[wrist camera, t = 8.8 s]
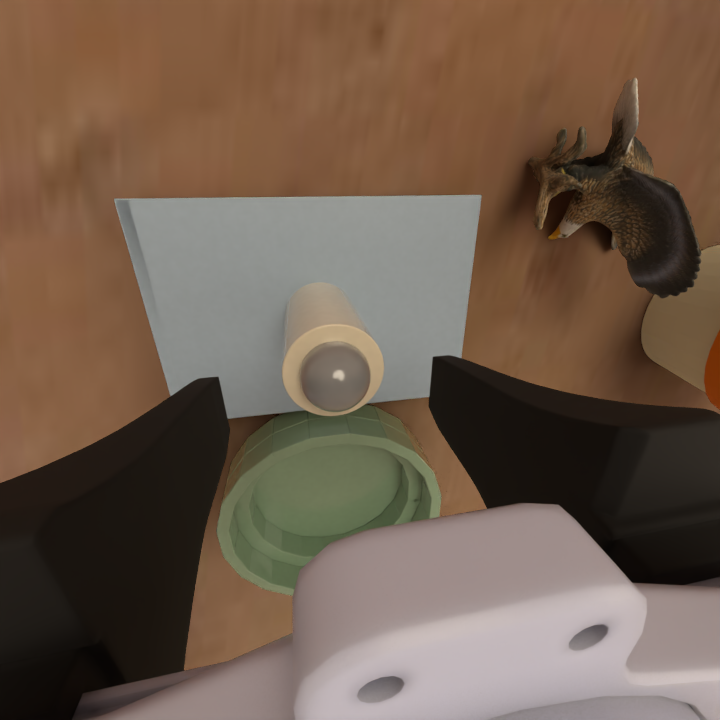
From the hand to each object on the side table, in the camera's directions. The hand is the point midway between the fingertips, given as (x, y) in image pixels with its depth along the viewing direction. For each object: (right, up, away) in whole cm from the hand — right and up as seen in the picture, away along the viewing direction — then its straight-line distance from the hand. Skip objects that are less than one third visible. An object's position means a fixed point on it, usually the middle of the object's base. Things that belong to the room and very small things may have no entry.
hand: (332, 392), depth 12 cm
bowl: (-1, -8, +13) cm, 15 cm away
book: (-1, +4, +8) cm, 9 cm away
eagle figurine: (+13, +10, +8) cm, 19 cm away
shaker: (-1, +3, +6) cm, 7 cm away
